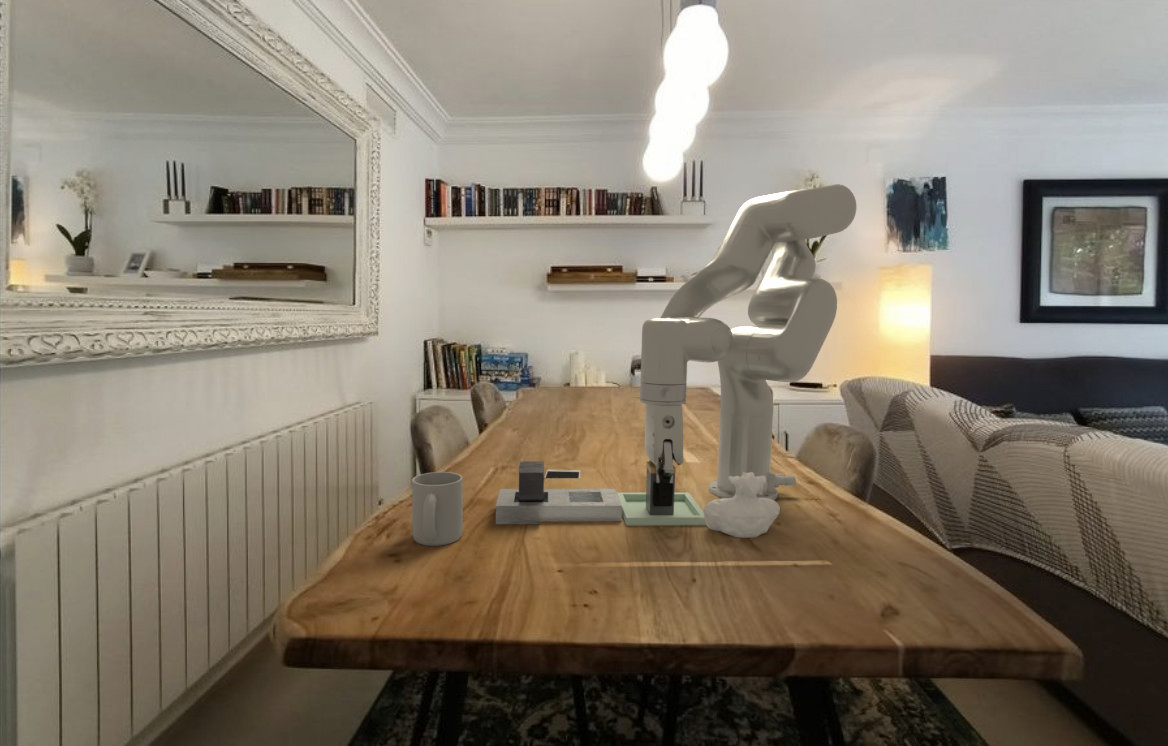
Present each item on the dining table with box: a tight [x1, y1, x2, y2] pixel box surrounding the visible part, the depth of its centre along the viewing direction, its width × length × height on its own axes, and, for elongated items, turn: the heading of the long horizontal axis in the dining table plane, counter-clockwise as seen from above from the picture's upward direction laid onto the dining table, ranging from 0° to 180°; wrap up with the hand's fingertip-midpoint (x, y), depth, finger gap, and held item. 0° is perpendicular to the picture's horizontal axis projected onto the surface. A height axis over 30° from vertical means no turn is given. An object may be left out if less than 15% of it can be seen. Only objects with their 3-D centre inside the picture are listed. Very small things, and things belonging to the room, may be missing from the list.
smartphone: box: [544, 469, 581, 479], centre depth 117 cm, size 7×15×1 cm, turn 179°
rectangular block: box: [645, 461, 676, 515], centre depth 99 cm, size 4×4×8 cm
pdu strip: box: [495, 460, 623, 525], centre depth 98 cm, size 20×9×8 cm, turn 94°
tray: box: [617, 491, 707, 526], centre depth 99 cm, size 13×13×2 cm
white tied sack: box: [703, 472, 781, 539], centre depth 90 cm, size 12×8×11 cm
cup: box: [411, 471, 464, 547], centre depth 86 cm, size 7×10×9 cm
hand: (659, 500), depth 99 cm, fingers closed on rectangular block, 4 cm apart
